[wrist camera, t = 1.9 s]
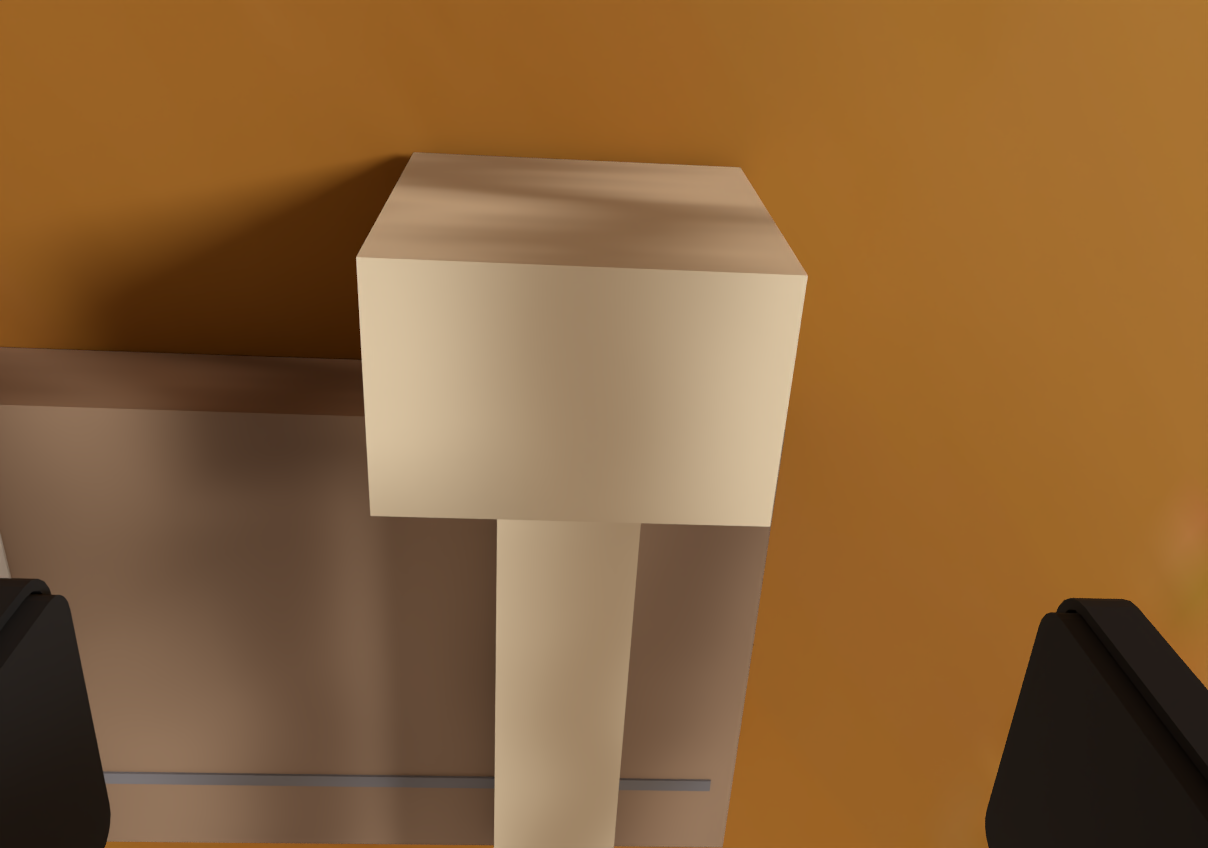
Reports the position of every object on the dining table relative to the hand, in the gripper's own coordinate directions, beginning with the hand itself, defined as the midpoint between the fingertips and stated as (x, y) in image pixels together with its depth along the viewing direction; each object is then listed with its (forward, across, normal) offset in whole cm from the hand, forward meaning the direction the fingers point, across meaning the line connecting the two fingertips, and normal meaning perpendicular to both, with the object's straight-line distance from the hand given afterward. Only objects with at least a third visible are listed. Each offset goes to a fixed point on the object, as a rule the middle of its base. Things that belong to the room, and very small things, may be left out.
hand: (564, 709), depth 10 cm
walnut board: (+12, +6, +7) cm, 15 cm away
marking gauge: (+12, 0, +5) cm, 12 cm away
